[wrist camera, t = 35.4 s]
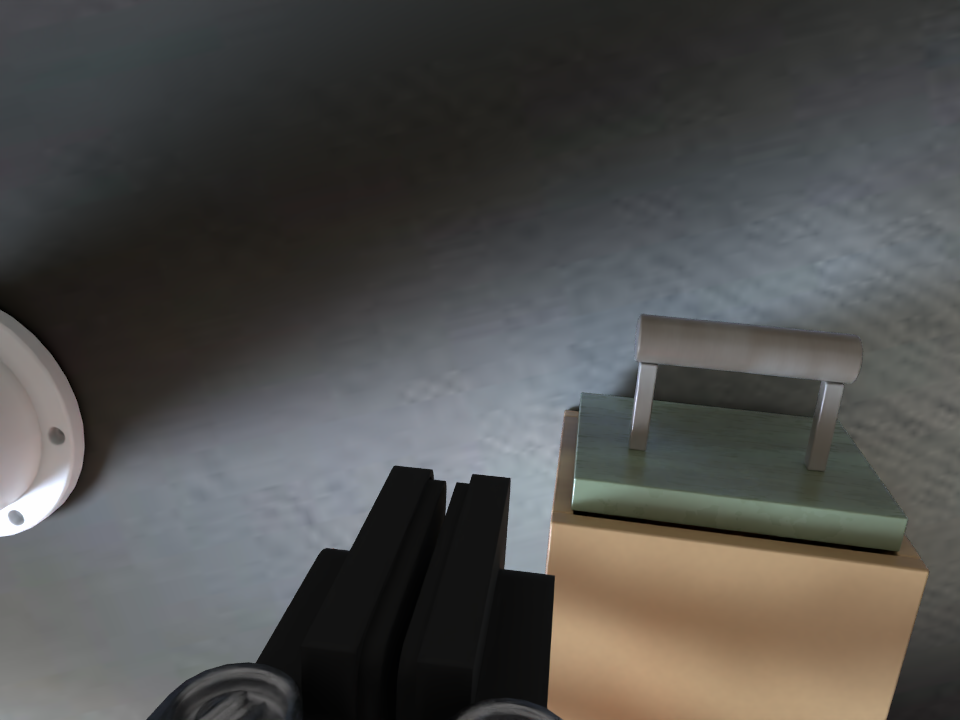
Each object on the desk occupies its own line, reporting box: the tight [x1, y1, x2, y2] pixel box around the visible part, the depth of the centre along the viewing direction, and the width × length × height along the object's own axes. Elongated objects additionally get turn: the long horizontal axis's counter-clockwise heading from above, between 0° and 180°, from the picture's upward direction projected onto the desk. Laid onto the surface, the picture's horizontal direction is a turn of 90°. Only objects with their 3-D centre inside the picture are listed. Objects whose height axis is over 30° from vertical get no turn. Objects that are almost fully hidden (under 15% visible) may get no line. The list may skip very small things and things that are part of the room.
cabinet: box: [545, 410, 929, 720], centre depth 31 cm, size 15×11×9 cm
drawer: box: [571, 314, 908, 552], centre depth 30 cm, size 19×10×8 cm, turn 176°
